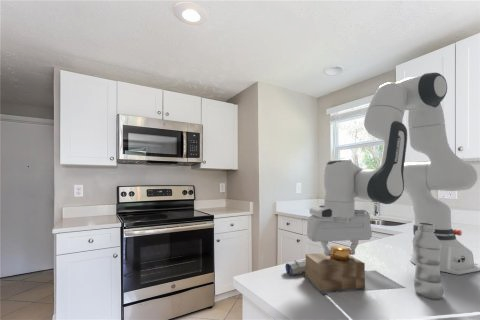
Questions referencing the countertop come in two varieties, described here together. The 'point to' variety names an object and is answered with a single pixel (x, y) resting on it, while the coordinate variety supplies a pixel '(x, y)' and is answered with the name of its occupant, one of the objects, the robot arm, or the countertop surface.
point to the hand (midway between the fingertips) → (339, 254)
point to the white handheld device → (296, 267)
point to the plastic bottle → (427, 262)
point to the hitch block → (343, 275)
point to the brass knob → (340, 253)
